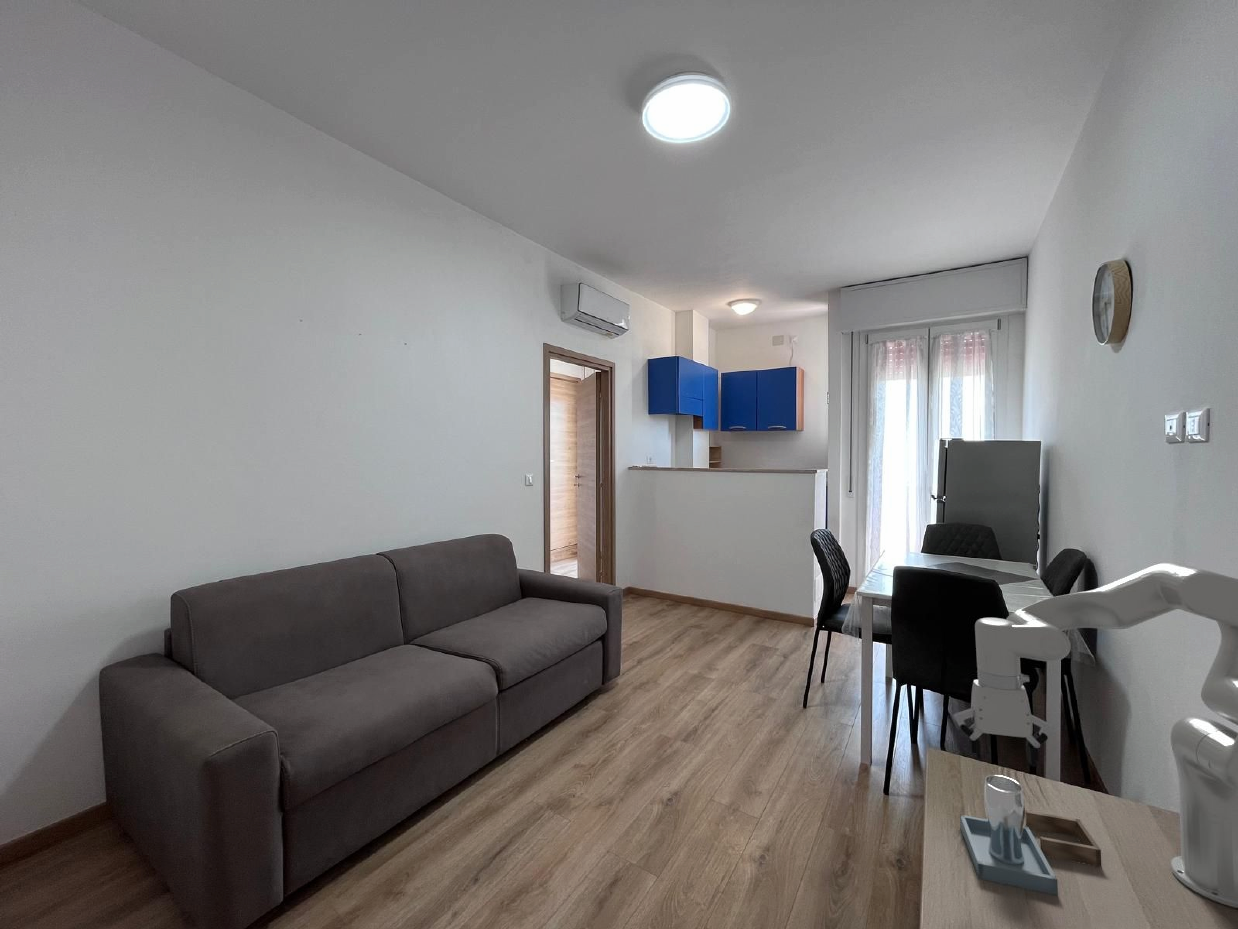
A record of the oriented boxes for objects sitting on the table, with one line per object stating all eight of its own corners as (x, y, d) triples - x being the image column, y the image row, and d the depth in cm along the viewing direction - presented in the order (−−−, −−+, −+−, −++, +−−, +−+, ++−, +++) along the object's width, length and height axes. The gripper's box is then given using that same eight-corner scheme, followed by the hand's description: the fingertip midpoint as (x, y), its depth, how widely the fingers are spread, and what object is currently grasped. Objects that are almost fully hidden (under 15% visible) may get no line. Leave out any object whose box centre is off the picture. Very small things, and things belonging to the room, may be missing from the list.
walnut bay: (1080, 835, 119) (1079, 819, 119) (1101, 867, 109) (1100, 850, 109) (1025, 825, 122) (1025, 810, 122) (1042, 855, 113) (1041, 839, 113)
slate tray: (1028, 840, 118) (1028, 827, 118) (1057, 895, 103) (1057, 879, 103) (960, 827, 122) (959, 814, 122) (978, 878, 107) (978, 863, 107)
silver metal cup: (988, 860, 111) (986, 788, 111) (983, 839, 117) (981, 771, 117) (1030, 871, 108) (1027, 797, 108) (1023, 849, 114) (1020, 778, 114)
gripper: (1042, 675, 113) (1047, 757, 113) (948, 668, 119) (952, 745, 119) (1056, 690, 106) (1061, 776, 106) (955, 681, 112) (960, 763, 112)
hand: (1003, 760), depth 113 cm, fingers open, 9 cm apart
